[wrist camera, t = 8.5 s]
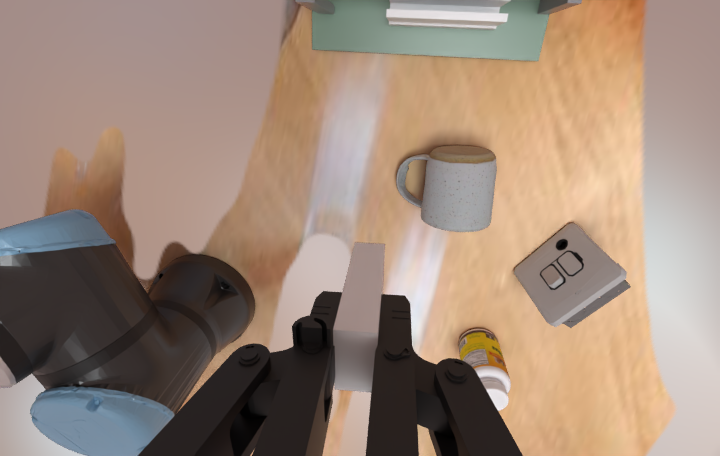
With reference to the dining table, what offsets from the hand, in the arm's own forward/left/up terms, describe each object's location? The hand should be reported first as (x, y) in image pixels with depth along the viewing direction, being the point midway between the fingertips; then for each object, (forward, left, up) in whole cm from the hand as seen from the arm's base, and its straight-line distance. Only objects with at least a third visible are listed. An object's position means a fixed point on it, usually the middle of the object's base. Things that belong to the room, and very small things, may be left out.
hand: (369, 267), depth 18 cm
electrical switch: (+22, -12, -27) cm, 37 cm away
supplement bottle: (+15, -27, -27) cm, 41 cm away
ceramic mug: (+6, -3, -27) cm, 28 cm away
